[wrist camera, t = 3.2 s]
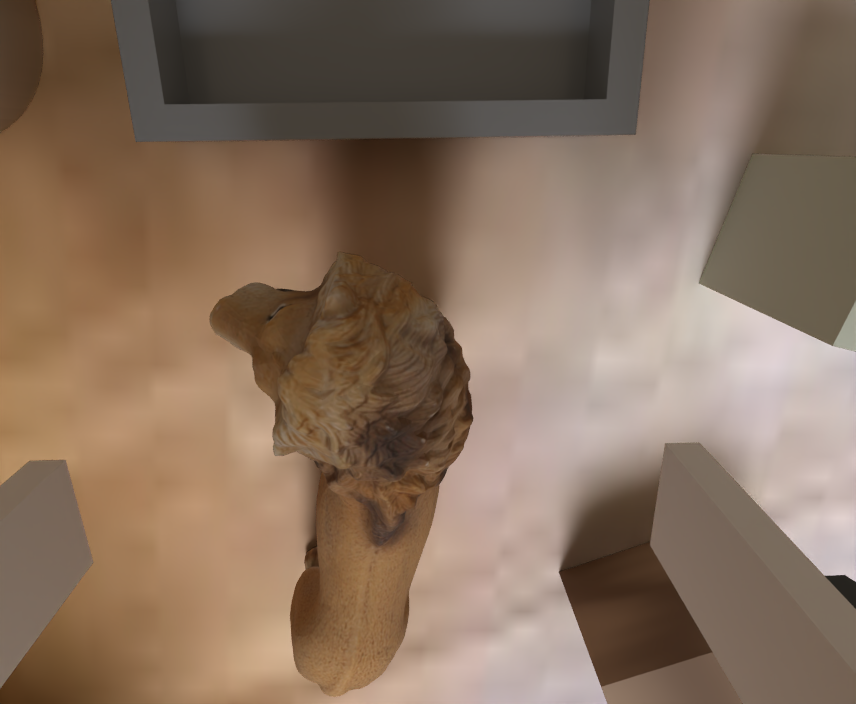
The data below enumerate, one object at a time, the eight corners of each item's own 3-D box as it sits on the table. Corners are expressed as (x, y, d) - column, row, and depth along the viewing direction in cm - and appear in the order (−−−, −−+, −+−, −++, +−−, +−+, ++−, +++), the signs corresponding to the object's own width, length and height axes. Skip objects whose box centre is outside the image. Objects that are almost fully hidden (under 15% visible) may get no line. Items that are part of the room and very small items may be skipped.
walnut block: (591, 661, 24) (639, 790, 19) (558, 570, 22) (601, 686, 17) (710, 624, 23) (789, 746, 19) (685, 528, 22) (765, 635, 17)
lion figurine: (273, 216, 17) (148, 290, 8) (454, 215, 17) (508, 287, 9) (307, 609, 22) (250, 902, 13) (446, 605, 22) (477, 889, 14)
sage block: (698, 283, 18) (832, 346, 13) (752, 153, 17) (928, 159, 11) (809, 311, 19) (986, 384, 13) (870, 187, 17) (1094, 208, 12)
